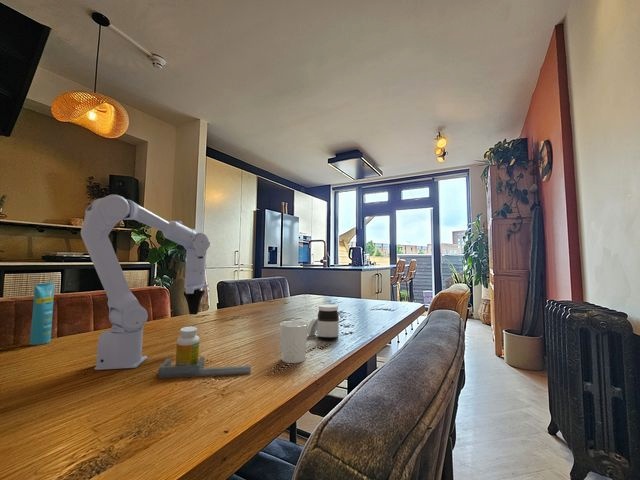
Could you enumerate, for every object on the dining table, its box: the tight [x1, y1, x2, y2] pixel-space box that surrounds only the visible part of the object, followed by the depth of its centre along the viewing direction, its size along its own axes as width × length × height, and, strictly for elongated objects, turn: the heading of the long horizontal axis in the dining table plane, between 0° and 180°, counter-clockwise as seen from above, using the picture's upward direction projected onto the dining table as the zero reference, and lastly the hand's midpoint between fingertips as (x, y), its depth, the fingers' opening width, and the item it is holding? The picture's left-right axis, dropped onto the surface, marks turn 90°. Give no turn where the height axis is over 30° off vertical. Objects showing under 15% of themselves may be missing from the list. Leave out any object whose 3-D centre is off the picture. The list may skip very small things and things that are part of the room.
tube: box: [29, 281, 55, 346], centre depth 95 cm, size 7×5×19 cm, turn 13°
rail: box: [157, 356, 252, 379], centre depth 74 cm, size 21×6×2 cm, turn 101°
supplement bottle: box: [175, 326, 200, 365], centre depth 77 cm, size 5×5×10 cm
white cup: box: [279, 320, 309, 364], centre depth 84 cm, size 8×8×10 cm
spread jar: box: [307, 303, 340, 342], centre depth 107 cm, size 12×11×12 cm
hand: (193, 314), depth 93 cm, fingers closed
